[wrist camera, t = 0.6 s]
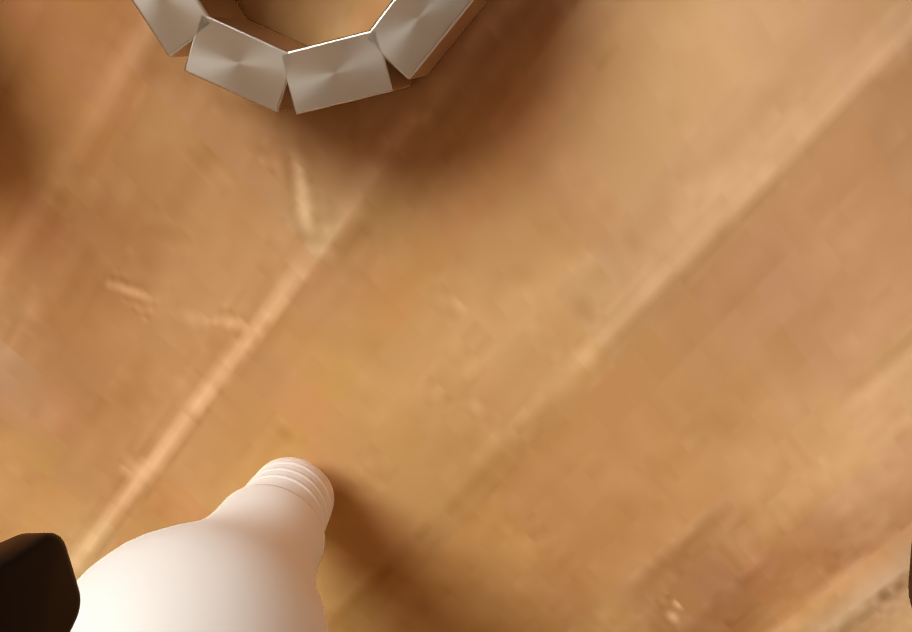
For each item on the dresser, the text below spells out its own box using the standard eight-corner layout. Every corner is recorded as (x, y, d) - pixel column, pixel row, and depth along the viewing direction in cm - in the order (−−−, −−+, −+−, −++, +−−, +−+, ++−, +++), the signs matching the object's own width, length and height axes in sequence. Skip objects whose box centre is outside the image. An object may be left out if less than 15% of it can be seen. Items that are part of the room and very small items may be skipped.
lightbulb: (438, 513, 24) (346, 856, 14) (286, 593, 26) (104, 951, 16) (320, 353, 23) (125, 601, 13) (168, 448, 25) (-111, 734, 15)
